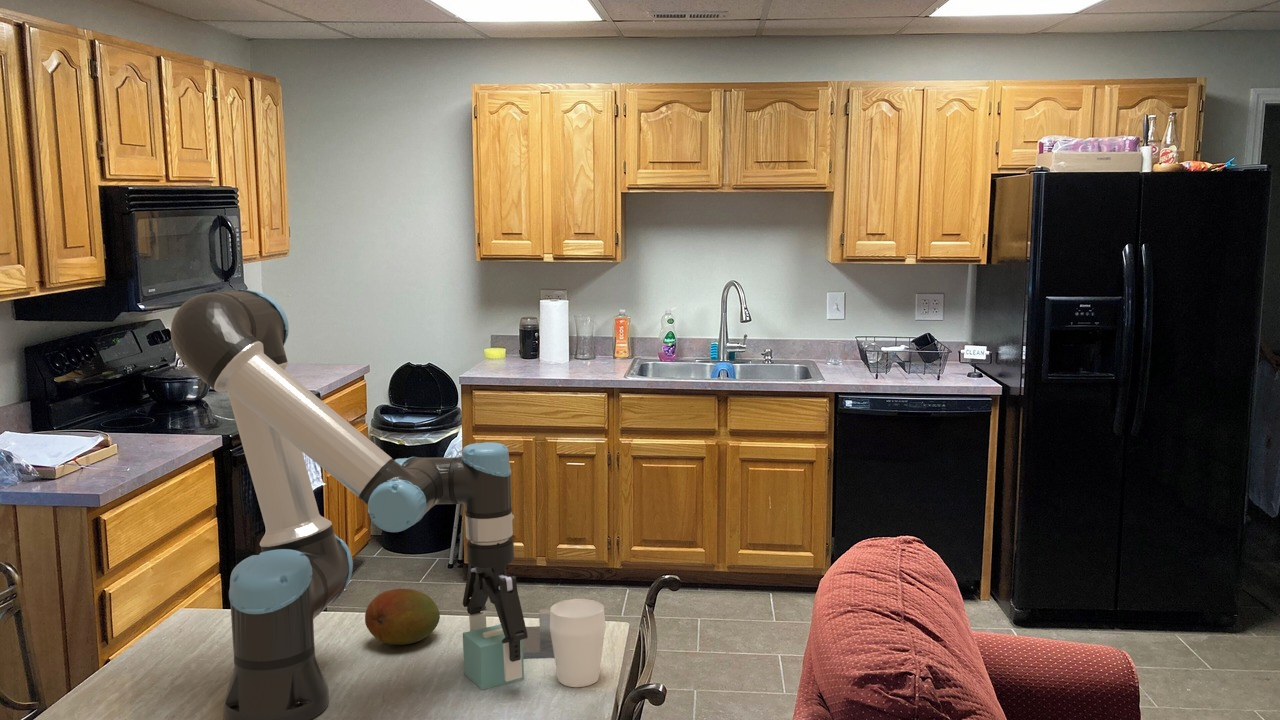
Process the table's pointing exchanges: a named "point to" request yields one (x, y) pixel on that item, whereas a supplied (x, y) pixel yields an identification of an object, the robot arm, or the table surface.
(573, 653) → the cup
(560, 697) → the table surface
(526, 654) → the shaft fixture
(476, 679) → the teal block
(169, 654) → the table surface
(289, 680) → the robot arm
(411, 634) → the fruit
